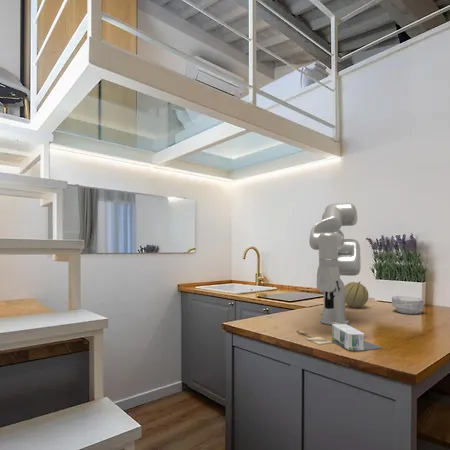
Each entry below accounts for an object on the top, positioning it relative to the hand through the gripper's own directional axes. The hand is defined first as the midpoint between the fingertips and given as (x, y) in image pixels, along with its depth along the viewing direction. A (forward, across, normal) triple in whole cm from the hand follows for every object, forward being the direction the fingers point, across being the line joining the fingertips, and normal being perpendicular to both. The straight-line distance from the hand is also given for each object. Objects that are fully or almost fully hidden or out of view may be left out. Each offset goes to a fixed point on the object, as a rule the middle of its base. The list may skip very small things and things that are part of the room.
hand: (329, 308), depth 140 cm
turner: (+10, +2, -10) cm, 15 cm away
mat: (+10, +16, -1) cm, 19 cm away
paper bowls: (+13, -22, +68) cm, 73 cm away
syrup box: (+7, +8, -2) cm, 11 cm away
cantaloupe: (+13, -44, +52) cm, 70 cm away
